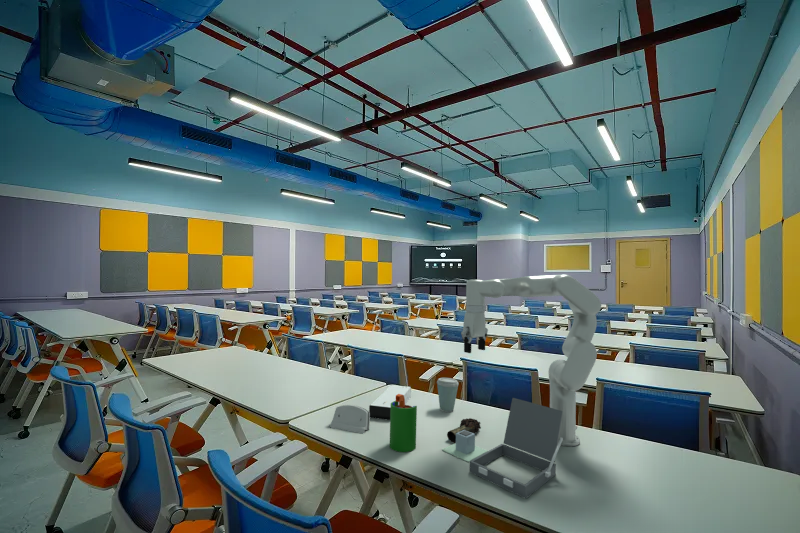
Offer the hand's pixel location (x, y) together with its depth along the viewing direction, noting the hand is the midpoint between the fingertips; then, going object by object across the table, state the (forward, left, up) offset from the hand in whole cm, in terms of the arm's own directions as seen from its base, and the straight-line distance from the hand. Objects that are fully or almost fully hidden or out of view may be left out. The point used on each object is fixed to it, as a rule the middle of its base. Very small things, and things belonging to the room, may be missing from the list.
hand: (474, 351), depth 153 cm
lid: (+2, +26, -23) cm, 35 cm away
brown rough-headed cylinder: (+3, -3, -35) cm, 35 cm away
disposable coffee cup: (-15, -26, -34) cm, 46 cm away
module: (+14, +6, -34) cm, 37 cm away
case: (+14, +27, -34) cm, 45 cm away
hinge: (+33, -40, -35) cm, 62 cm away
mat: (+14, +6, -34) cm, 38 cm away
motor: (+29, -12, -34) cm, 47 cm away
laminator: (+3, -47, -35) cm, 59 cm away
